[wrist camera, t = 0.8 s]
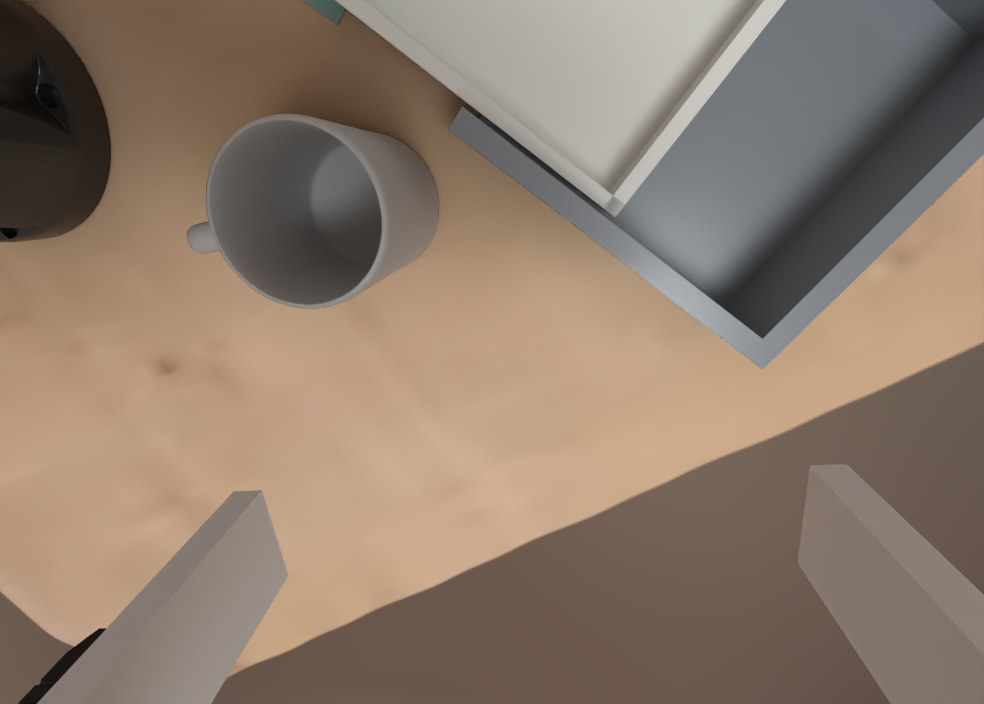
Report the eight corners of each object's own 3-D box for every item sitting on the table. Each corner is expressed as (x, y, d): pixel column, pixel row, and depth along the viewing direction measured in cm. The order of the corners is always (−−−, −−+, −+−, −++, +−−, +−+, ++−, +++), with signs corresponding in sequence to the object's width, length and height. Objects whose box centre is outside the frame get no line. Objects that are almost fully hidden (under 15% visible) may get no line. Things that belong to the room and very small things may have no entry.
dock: (469, 139, 30) (448, 129, 24) (706, -233, 24) (767, -390, 17) (719, 330, 33) (762, 369, 26) (997, 39, 26) (1149, -8, 19)
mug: (422, 118, 30) (357, 87, 20) (453, 257, 33) (411, 294, 22) (245, 161, 32) (102, 154, 22) (288, 289, 35) (179, 337, 24)
